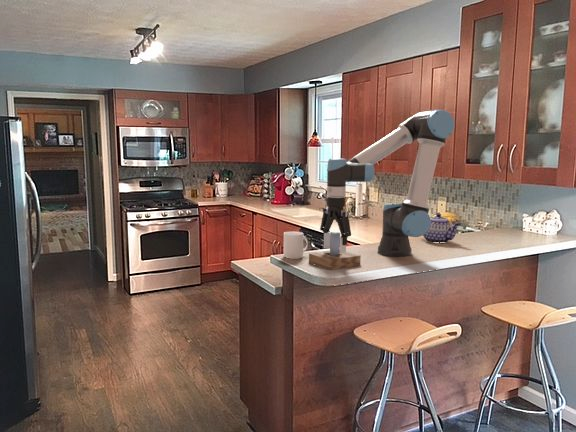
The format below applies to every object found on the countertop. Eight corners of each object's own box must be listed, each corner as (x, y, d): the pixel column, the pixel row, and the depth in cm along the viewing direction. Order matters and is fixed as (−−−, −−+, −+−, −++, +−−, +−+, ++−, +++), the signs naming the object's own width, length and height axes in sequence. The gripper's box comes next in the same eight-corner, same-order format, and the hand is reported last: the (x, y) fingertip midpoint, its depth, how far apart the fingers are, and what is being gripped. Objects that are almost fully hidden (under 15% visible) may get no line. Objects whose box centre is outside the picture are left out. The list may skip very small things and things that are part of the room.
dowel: (335, 259, 206) (335, 231, 204) (341, 261, 203) (342, 233, 201) (327, 260, 204) (328, 232, 202) (333, 262, 200) (334, 233, 199)
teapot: (408, 239, 259) (409, 211, 257) (426, 236, 268) (427, 209, 266) (448, 247, 239) (450, 217, 237) (467, 244, 248) (469, 214, 246)
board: (338, 258, 213) (338, 249, 213) (360, 264, 202) (360, 255, 201) (308, 262, 205) (308, 253, 204) (329, 269, 193) (329, 260, 193)
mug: (313, 257, 215) (313, 233, 214) (290, 260, 209) (290, 235, 207) (301, 253, 223) (302, 230, 221) (279, 256, 216) (279, 232, 214)
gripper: (312, 194, 207) (311, 246, 210) (347, 199, 188) (345, 256, 191) (326, 193, 211) (325, 244, 214) (361, 198, 192) (359, 254, 195)
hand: (334, 250), depth 203 cm, fingers open, 10 cm apart
